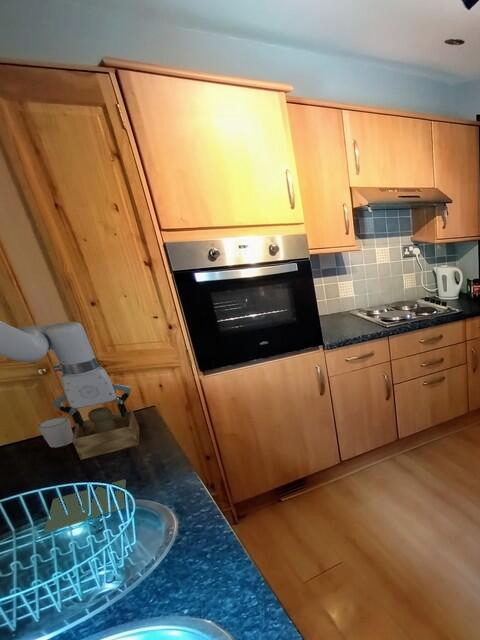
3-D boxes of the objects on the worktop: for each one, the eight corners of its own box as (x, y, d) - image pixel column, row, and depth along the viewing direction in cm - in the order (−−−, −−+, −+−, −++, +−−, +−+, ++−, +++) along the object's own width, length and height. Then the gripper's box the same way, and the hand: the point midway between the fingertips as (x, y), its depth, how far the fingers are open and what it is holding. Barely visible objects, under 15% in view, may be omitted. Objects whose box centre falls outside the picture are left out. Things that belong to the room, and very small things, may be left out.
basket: (80, 459, 128) (71, 440, 126) (85, 440, 138) (77, 422, 135) (138, 445, 135) (131, 426, 133) (139, 427, 145) (132, 410, 142)
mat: (45, 533, 101) (44, 531, 101) (54, 501, 111) (53, 499, 111) (124, 508, 109) (123, 506, 109) (126, 480, 119) (125, 478, 119)
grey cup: (48, 451, 132) (38, 430, 129) (45, 443, 136) (35, 422, 133) (79, 442, 137) (70, 421, 134) (75, 434, 141) (66, 414, 138)
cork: (122, 434, 140) (110, 402, 136) (125, 441, 136) (112, 409, 132) (97, 441, 136) (83, 409, 132) (99, 449, 132) (85, 416, 128)
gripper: (35, 377, 119) (62, 433, 126) (119, 363, 129) (139, 416, 136) (40, 369, 125) (65, 423, 132) (120, 356, 134) (139, 407, 141)
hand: (103, 419), depth 134 cm, fingers open, 9 cm apart
